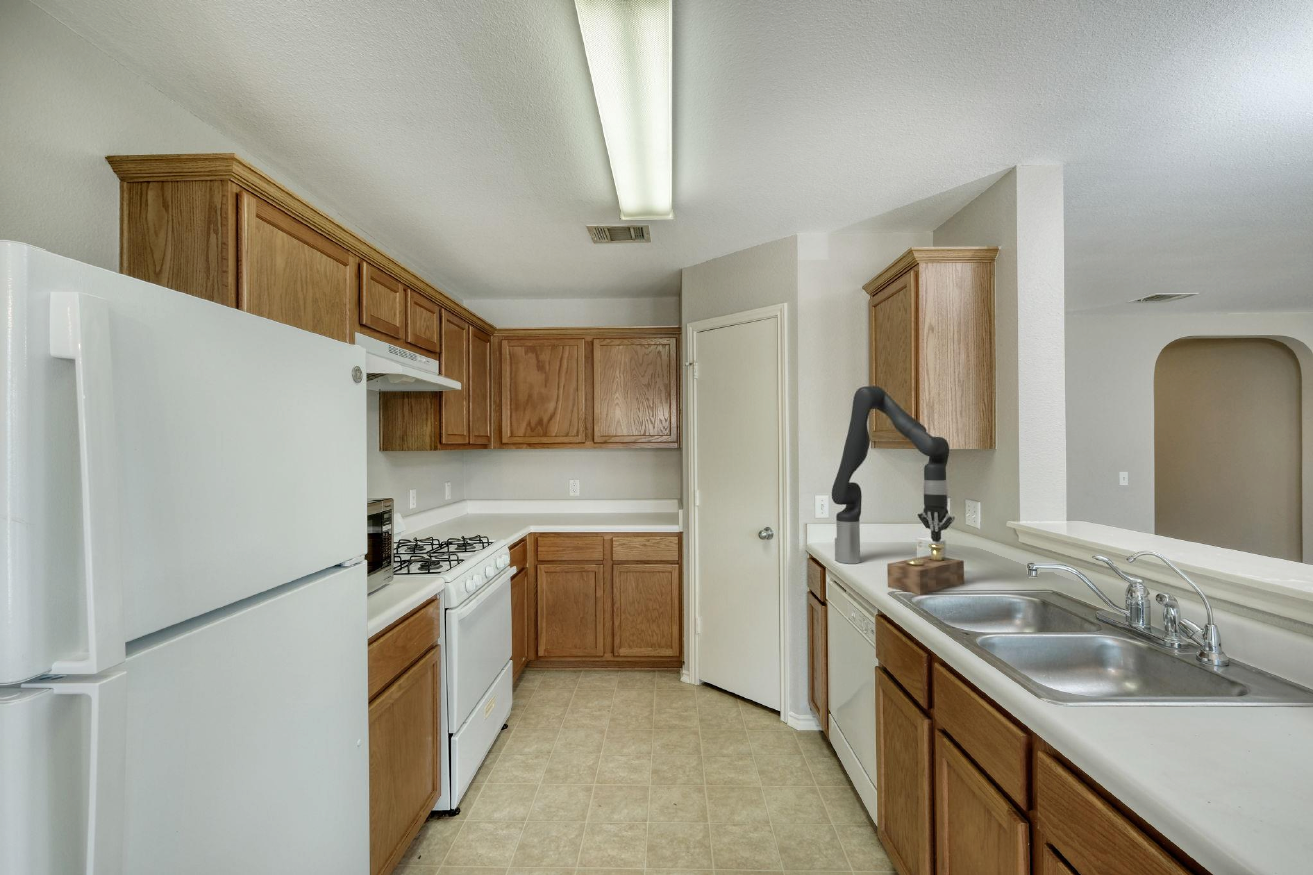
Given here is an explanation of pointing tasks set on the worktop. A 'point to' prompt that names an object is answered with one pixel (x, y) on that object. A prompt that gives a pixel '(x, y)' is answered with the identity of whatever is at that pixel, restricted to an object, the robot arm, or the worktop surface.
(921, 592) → the socket block
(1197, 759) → the worktop surface
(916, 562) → the plunger
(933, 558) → the plunger
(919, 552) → the small box
